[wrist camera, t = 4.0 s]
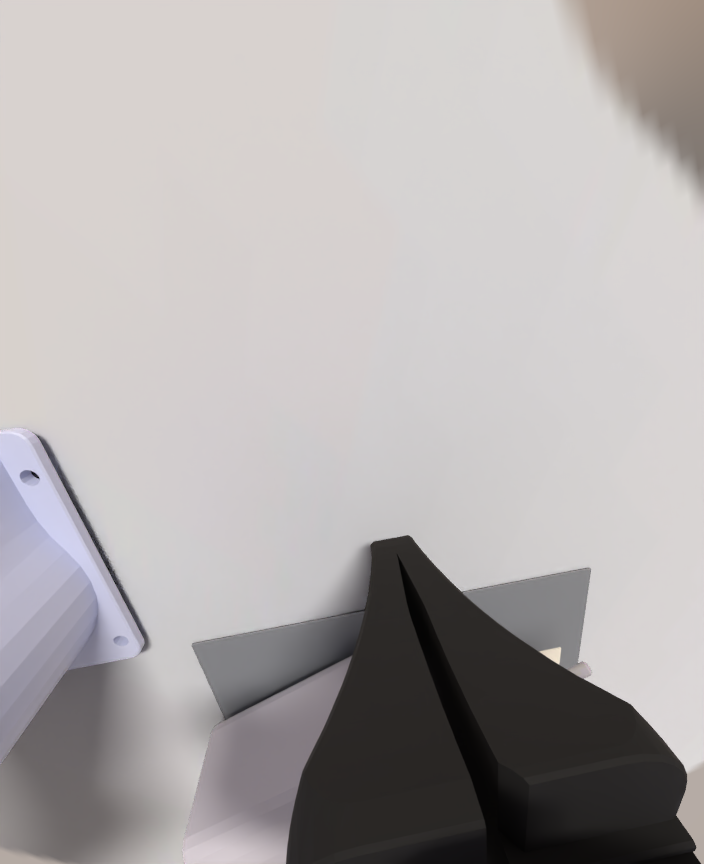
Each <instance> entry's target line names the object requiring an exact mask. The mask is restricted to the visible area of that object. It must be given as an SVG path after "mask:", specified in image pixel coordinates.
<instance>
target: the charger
mask: <svg viewBox="0 0 704 864" xmlns="http://www.w3.org/2000/svg"><path fill="white" fill-rule="evenodd" d="M351 658H352V656H350V657H348V658H346V659H344V660H342V661H340V662H338V663H336V664H334V665H332V666H330V667H328V668H326V669H324V670H322V671H320V672H318V673H316V674H314V675H312V676H310V677H308V678H307V679H305V680H303V681H301V682H299V683H297V684H295V685H293V686H291V687H289V688H287V689H285V690H283V691H281V692H279V693H277V694H275V695H273V696H271V697H269V698H267V699H265V700H263V701H262V702H260V703H258V704H256V705H254V706H252V707H250V708H248V709H246V710H244V711H242V712H240V713H238V714H236V715H234V716H232V717H230V718H228V719H226V720H224V721H222V722H220V723H219V724H217V725H216V726H214V728H213V730H212V732H211V735H210V739H209V743H208V747H207V751H206V755H205V759H204V762H203V766H202V770H201V774H200V778H199V782H198V786H197V790H196V794H195V797H194V801H193V805H192V809H191V813H190V817H189V821H188V825H187V829H186V832H185V836H184V842H183V851H182V853H183V859H184V864H286V855H287V844H288V838H289V830H290V824H291V818H292V813H293V808H294V804H295V799H296V795H297V791H298V787H299V782H300V778H301V775H302V771H303V769H304V767H305V765H306V763H307V761H308V758H309V756H310V754H311V752H312V750H313V748H314V746H315V744H316V742H317V740H318V738H319V736H320V734H321V732H322V730H323V728H324V726H325V724H326V721H327V719H328V717H329V715H330V712H331V710H332V707H333V705H334V703H335V700H336V698H337V695H338V693H339V691H340V688H341V686H342V683H343V681H344V678H345V675H346V673H347V670H348V667H349V664H350V661H351ZM567 670H569V671H570V672H572V673H574V674H575V675H577V676H579V677H581V678H582V679H584V678H586V677H588V676H590V675H591V674H592V670H591V668H590V667H589V665H588V664H587V663H585V662H580V663H578V664H576V665H574V666H572V667H569V668H567Z"/></svg>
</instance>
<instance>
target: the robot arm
mask: <svg viewBox="0 0 704 864" xmlns="http://www.w3.org/2000/svg"><path fill="white" fill-rule="evenodd" d="M31 471H33V472H35V473H36V474H37V475H38V476H39V479H38V478H36V477H34V476H33V475H32V474H31ZM371 551H372V566H371V577H370V585H369V592H368V597H367V602H366V607H365V612H364V617H363V621H362V625H361V629H360V632H359V636H358V639H357V643H356V646H355V649H354V652H353V655H352V658H351V661H350V664H349V667H348V670H347V673H346V675H345V678H344V681H343V683H342V686H341V688H340V691H339V693H338V695H337V698H336V700H335V703H334V705H333V707H332V710H331V712H330V715H329V717H328V719H327V721H326V724H325V726H324V728H323V730H322V732H321V734H320V736H319V738H318V740H317V742H316V744H315V746H314V748H313V750H312V752H311V754H310V756H309V758H308V761H307V763H306V765H305V767H304V769H303V771H302V775H301V778H300V782H299V787H298V791H297V795H296V799H295V804H294V808H293V813H292V818H291V824H290V830H289V838H288V844H287V855H286V864H701V863H700V862H699V860H698V859H697V858H696V856H695V854H694V853H693V851H695V849H696V845H695V843H694V841H693V839H692V837H691V836H690V835H689V833H688V832H687V830H686V829H685V828H684V826H683V825H682V823H681V822H680V820H679V819H678V818H677V816H676V813H677V811H678V809H679V806H680V803H681V801H682V798H683V795H684V793H685V790H686V784H687V773H686V771H685V768H684V766H683V764H682V763H681V762H680V760H679V759H678V758H677V757H676V755H675V754H674V753H673V752H672V750H671V749H670V748H669V747H668V745H667V744H666V743H665V742H664V740H663V739H662V738H661V737H660V736H659V735H658V734H657V732H656V731H655V730H654V729H653V728H652V727H651V726H650V725H649V724H648V722H647V721H646V720H645V719H644V718H643V717H642V716H641V715H640V714H639V713H638V712H637V711H636V710H635V709H634V708H633V706H632V705H631V704H629V703H627V702H625V701H623V700H621V699H620V698H618V697H616V696H614V695H612V694H610V693H608V692H607V691H605V690H603V689H601V688H599V687H597V686H595V685H594V684H592V683H590V682H588V681H586V680H584V679H582V678H581V677H579V676H577V675H575V674H574V673H572V672H570V671H569V670H567V669H566V668H564V667H562V666H561V665H559V664H557V663H556V662H554V661H552V660H551V659H549V658H548V657H546V656H545V655H543V654H542V653H540V652H539V651H537V650H536V649H534V648H533V647H531V646H530V645H528V644H527V643H525V642H524V641H522V640H521V639H519V638H518V637H516V636H515V635H514V634H512V633H511V632H510V631H508V630H507V629H506V628H504V627H503V626H502V625H500V624H499V623H498V622H496V621H495V620H494V619H493V618H491V617H490V616H489V615H488V614H486V613H485V612H484V611H483V610H481V609H480V608H479V607H478V606H477V605H475V604H474V603H473V602H472V601H471V600H470V599H469V598H468V597H466V596H465V595H464V594H463V593H462V592H461V591H460V590H459V589H458V588H457V587H456V586H455V585H454V584H453V583H452V582H450V581H449V580H448V578H447V577H446V576H445V575H444V574H443V573H442V572H441V571H440V570H439V569H438V568H437V567H436V566H435V565H434V564H433V563H432V562H431V561H430V559H429V558H428V557H427V556H426V555H425V554H424V553H423V551H422V550H421V549H420V548H419V546H418V545H417V544H416V543H415V541H414V540H413V538H412V537H410V536H409V535H407V536H402V537H397V538H391V539H386V540H381V541H375V542H373V543H372V544H371ZM144 643H145V641H144V638H143V636H142V634H141V632H140V631H139V629H138V627H137V625H136V623H135V621H134V619H133V617H132V615H131V613H130V611H129V610H128V608H127V606H126V604H125V602H124V600H123V598H122V596H121V594H120V592H119V590H118V589H117V587H116V585H115V583H114V581H113V579H112V577H111V575H110V573H109V571H108V570H107V568H106V566H105V564H104V562H103V560H102V558H101V556H100V554H99V552H98V550H97V549H96V547H95V545H94V543H93V541H92V539H91V537H90V535H89V533H88V531H87V529H86V528H85V526H84V524H83V522H82V520H81V518H80V516H79V514H78V512H77V510H76V508H75V507H74V505H73V503H72V501H71V499H70V497H69V495H68V493H67V491H66V489H65V487H64V486H63V484H62V482H61V480H60V478H59V476H58V474H57V472H56V470H55V468H54V467H53V465H52V463H51V461H50V459H49V457H48V455H47V453H46V451H45V449H44V447H43V446H42V444H41V442H40V440H39V439H38V437H37V436H36V435H35V434H34V433H32V432H31V431H29V430H26V429H23V428H11V429H5V430H0V765H1V763H2V762H3V760H4V759H5V758H6V756H7V755H8V753H9V752H10V751H11V749H12V748H13V746H14V745H15V743H16V742H17V741H18V739H19V738H20V736H21V735H22V733H23V732H24V731H25V729H26V728H27V726H28V725H29V724H30V722H31V721H32V719H33V718H34V716H35V715H36V714H37V712H38V711H39V709H40V708H41V706H42V705H43V704H44V702H45V701H46V699H47V698H48V697H49V695H50V694H51V692H52V691H53V689H54V688H55V687H56V685H57V684H58V682H59V681H60V679H61V678H62V677H63V675H64V674H65V672H66V671H67V670H72V669H77V668H82V667H87V666H92V665H98V664H103V663H108V662H113V661H119V660H124V659H129V658H133V657H136V656H137V655H138V654H140V652H141V650H142V648H143V646H144Z"/></svg>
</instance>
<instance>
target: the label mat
mask: <svg viewBox="0 0 704 864" xmlns="http://www.w3.org/2000/svg"><path fill="white" fill-rule="evenodd" d="M590 573H591V569H590V568H585V569H580V570H575V571H570V572H564V573H559V574H554V575H549V576H543V577H538V578H533V579H528V580H523V581H517V582H512V583H507V584H502V585H496V586H491V587H486V588H481V589H475V590H470V591H465V592H462V593H463V594H464V595H465V596H466V597H468V598H469V599H470V600H471V601H472V602H473V603H474V604H475V605H477V606H478V607H479V608H480V609H481V610H483V611H484V612H485V613H486V614H488V615H489V616H490V617H491V618H493V619H494V620H495V621H496V622H498V623H499V624H500V625H502V626H503V627H504V628H506V629H507V630H508V631H510V632H511V633H512V634H514V635H515V636H516V637H518V638H519V639H521V640H522V641H524V642H525V643H527V644H528V645H530V646H531V647H533V648H534V649H536V650H537V651H539V652H540V653H542V654H543V655H545V656H546V657H548V658H549V659H551V660H552V661H554V662H556V663H557V664H559V665H561V666H562V667H564V668H566V669H567V668H569V667H572V666H574V665H576V664H578V658H579V651H580V644H581V637H582V630H583V623H584V616H585V609H586V602H587V594H588V587H589V580H590ZM364 612H365V611H360V612H355V613H350V614H345V615H339V616H334V617H329V618H324V619H318V620H313V621H308V622H303V623H298V624H292V625H287V626H282V627H277V628H271V629H266V630H261V631H256V632H250V633H245V634H240V635H235V636H230V637H224V638H219V639H214V640H209V641H203V642H198V643H193V644H192V647H193V650H194V652H195V654H196V656H197V658H198V660H199V663H200V665H201V667H202V669H203V671H204V674H205V676H206V678H207V680H208V682H209V685H210V687H211V689H212V691H213V693H214V696H215V698H216V700H217V702H218V704H219V707H220V709H221V711H222V713H223V715H224V718H225V720H226V719H228V718H230V717H232V716H234V715H236V714H238V713H240V712H242V711H244V710H246V709H248V708H250V707H252V706H254V705H256V704H258V703H260V702H262V701H263V700H265V699H267V698H269V697H271V696H273V695H275V694H277V693H279V692H281V691H283V690H285V689H287V688H289V687H291V686H293V685H295V684H297V683H299V682H301V681H303V680H305V679H307V678H308V677H310V676H312V675H314V674H316V673H318V672H320V671H322V670H324V669H326V668H328V667H330V666H332V665H334V664H336V663H338V662H340V661H342V660H344V659H346V658H348V657H350V656H352V655H353V652H354V649H355V646H356V643H357V639H358V636H359V632H360V629H361V625H362V621H363V617H364Z"/></svg>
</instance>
